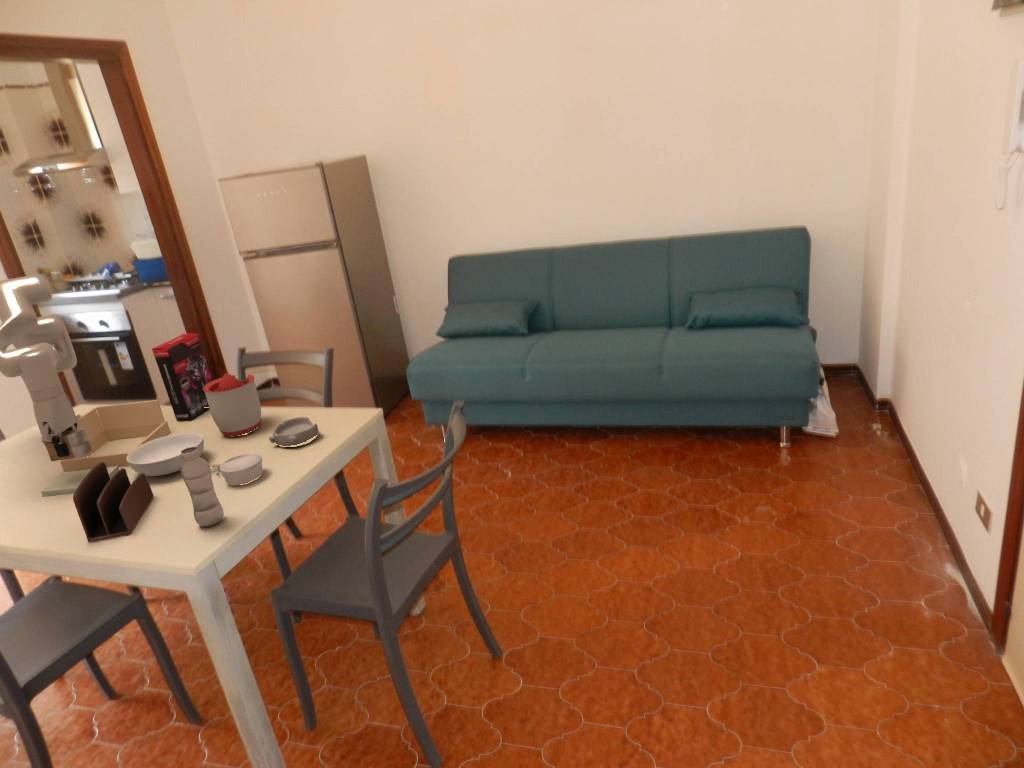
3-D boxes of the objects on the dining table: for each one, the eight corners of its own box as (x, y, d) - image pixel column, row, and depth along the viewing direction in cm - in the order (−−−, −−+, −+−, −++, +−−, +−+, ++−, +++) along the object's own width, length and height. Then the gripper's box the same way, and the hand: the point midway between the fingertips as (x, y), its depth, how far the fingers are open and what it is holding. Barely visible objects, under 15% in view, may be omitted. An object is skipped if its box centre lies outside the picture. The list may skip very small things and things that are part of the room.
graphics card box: (191, 421, 239) (168, 347, 230) (174, 422, 241) (150, 348, 232) (220, 402, 255) (199, 332, 246) (203, 403, 257) (182, 333, 247)
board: (68, 476, 208) (66, 472, 207) (119, 470, 207) (118, 466, 206) (42, 496, 196) (40, 491, 196) (97, 490, 196) (95, 485, 195)
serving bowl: (224, 453, 210) (218, 432, 208) (172, 487, 192) (164, 465, 189) (171, 450, 217) (165, 430, 215) (116, 483, 199) (109, 461, 197)
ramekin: (255, 465, 199) (250, 449, 197) (273, 475, 191) (268, 458, 189) (217, 481, 192) (212, 464, 190) (234, 493, 184) (229, 475, 182)
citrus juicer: (278, 418, 232) (264, 362, 225) (249, 440, 217) (232, 381, 210) (238, 418, 236) (223, 364, 229) (206, 441, 221) (189, 383, 214)
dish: (302, 427, 222) (298, 413, 220) (330, 434, 214) (326, 419, 212) (264, 446, 211) (260, 431, 210) (292, 454, 203) (288, 439, 202)
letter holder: (88, 543, 168) (68, 493, 163) (116, 504, 186) (99, 457, 181) (131, 535, 169) (112, 484, 164) (154, 496, 188) (138, 450, 183)
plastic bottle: (202, 518, 173) (179, 446, 166) (229, 514, 173) (207, 442, 166) (193, 532, 167) (169, 458, 160) (221, 527, 167) (198, 453, 160)
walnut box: (62, 453, 201) (53, 431, 198) (92, 450, 201) (83, 428, 198) (51, 461, 196) (42, 439, 194) (82, 457, 196) (73, 435, 193)
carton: (107, 439, 233) (95, 406, 229) (170, 432, 232) (160, 399, 228) (64, 472, 210) (50, 437, 206) (134, 464, 210) (121, 429, 205)
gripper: (53, 384, 200) (75, 440, 206) (14, 406, 184) (38, 466, 190) (78, 381, 200) (99, 437, 206) (41, 402, 184) (65, 463, 190)
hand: (70, 451), depth 198 cm, fingers closed on walnut box, 5 cm apart
